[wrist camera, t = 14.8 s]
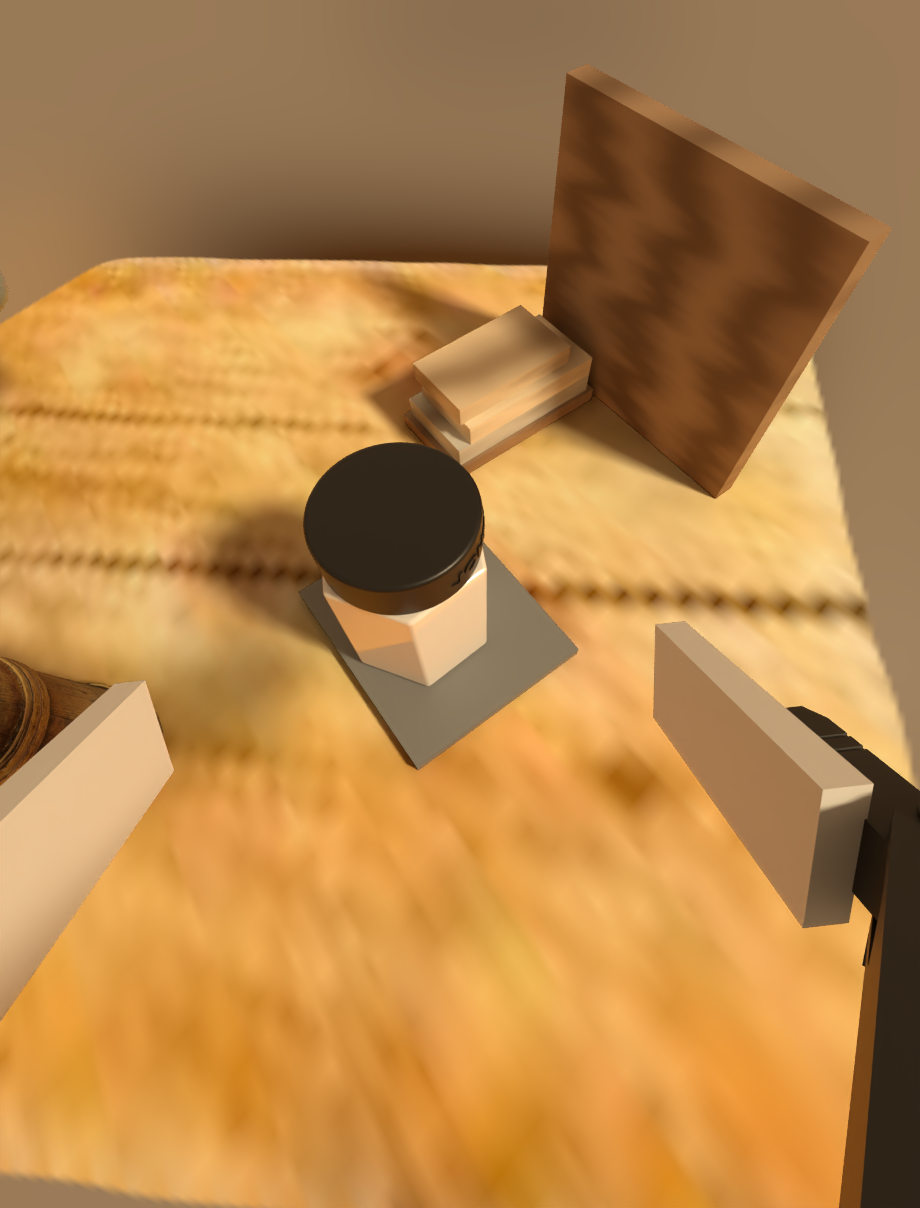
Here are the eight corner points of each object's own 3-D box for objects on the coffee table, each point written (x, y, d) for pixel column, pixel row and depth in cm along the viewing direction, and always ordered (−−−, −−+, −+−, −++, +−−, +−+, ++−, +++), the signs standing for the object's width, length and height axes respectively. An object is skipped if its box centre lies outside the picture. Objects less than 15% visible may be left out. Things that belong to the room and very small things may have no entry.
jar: (496, 676, 34) (501, 583, 24) (362, 698, 34) (305, 613, 23) (472, 551, 38) (467, 422, 27) (352, 569, 38) (299, 446, 27)
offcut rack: (405, 423, 44) (359, 162, 28) (553, 339, 48) (587, 64, 32) (569, 602, 37) (633, 387, 21) (730, 487, 41) (892, 227, 24)
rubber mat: (301, 597, 38) (298, 592, 37) (447, 507, 41) (446, 500, 40) (418, 770, 33) (416, 767, 32) (576, 653, 36) (578, 648, 35)
